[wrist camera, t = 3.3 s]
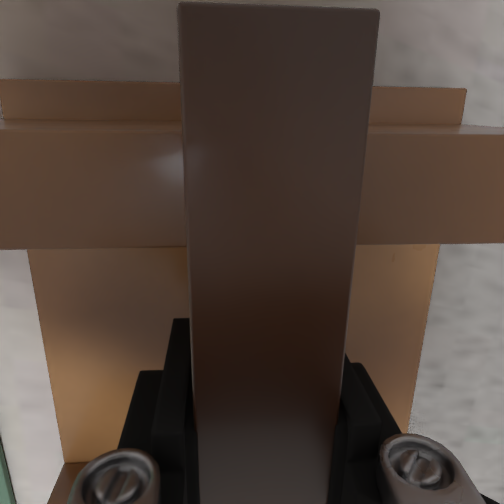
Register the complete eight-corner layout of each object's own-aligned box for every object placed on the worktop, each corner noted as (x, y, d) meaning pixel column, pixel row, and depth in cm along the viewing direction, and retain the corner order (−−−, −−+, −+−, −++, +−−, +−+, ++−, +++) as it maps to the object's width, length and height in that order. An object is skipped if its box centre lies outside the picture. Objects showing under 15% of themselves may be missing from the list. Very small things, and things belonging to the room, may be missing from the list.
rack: (9, 80, 11) (-190, 54, 6) (453, 89, 13) (646, 74, 7) (80, 503, 17) (12, 704, 11) (388, 484, 18) (467, 657, 12)
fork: (117, 24, 6) (85, -3, 5) (405, 33, 6) (462, 11, 5) (173, 698, 12) (167, 785, 10) (325, 682, 12) (341, 764, 11)
